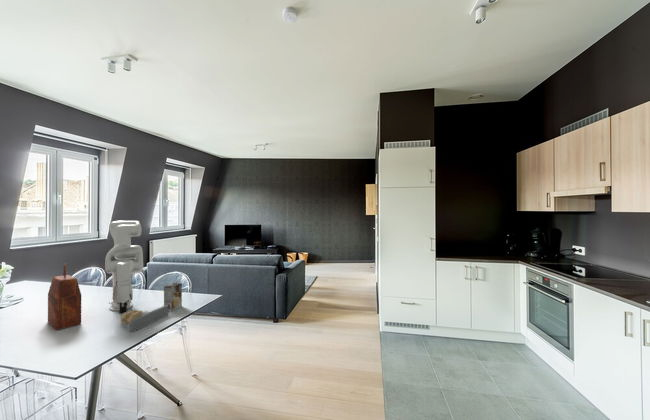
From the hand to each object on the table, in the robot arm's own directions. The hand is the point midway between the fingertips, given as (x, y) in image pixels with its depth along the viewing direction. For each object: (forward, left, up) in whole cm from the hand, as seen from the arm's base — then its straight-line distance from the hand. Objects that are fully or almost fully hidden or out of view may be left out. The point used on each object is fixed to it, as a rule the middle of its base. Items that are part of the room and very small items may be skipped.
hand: (123, 312), depth 156 cm
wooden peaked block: (-29, -11, -5) cm, 31 cm away
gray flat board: (+19, 0, -4) cm, 20 cm away
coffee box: (+15, +22, -5) cm, 27 cm away
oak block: (+6, 0, -5) cm, 8 cm away
